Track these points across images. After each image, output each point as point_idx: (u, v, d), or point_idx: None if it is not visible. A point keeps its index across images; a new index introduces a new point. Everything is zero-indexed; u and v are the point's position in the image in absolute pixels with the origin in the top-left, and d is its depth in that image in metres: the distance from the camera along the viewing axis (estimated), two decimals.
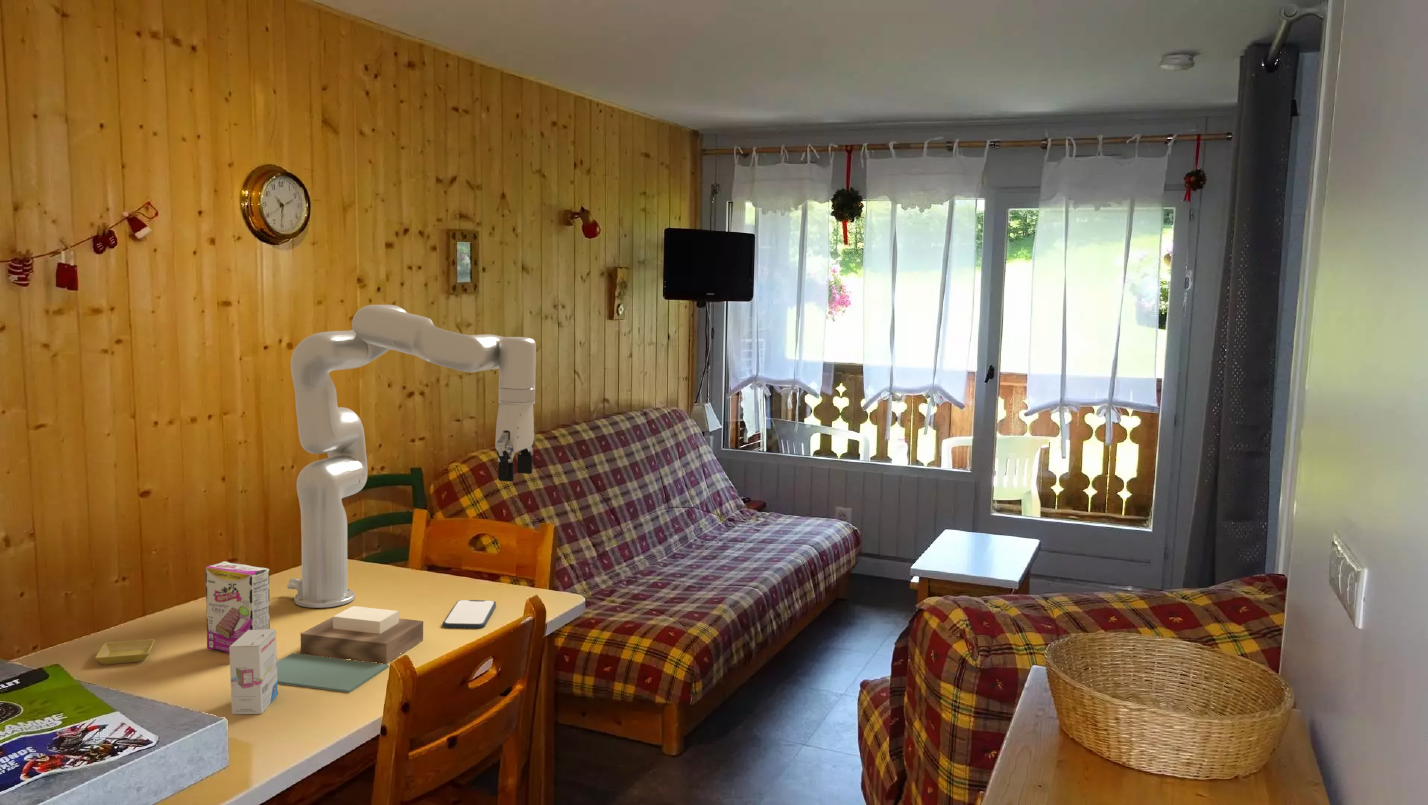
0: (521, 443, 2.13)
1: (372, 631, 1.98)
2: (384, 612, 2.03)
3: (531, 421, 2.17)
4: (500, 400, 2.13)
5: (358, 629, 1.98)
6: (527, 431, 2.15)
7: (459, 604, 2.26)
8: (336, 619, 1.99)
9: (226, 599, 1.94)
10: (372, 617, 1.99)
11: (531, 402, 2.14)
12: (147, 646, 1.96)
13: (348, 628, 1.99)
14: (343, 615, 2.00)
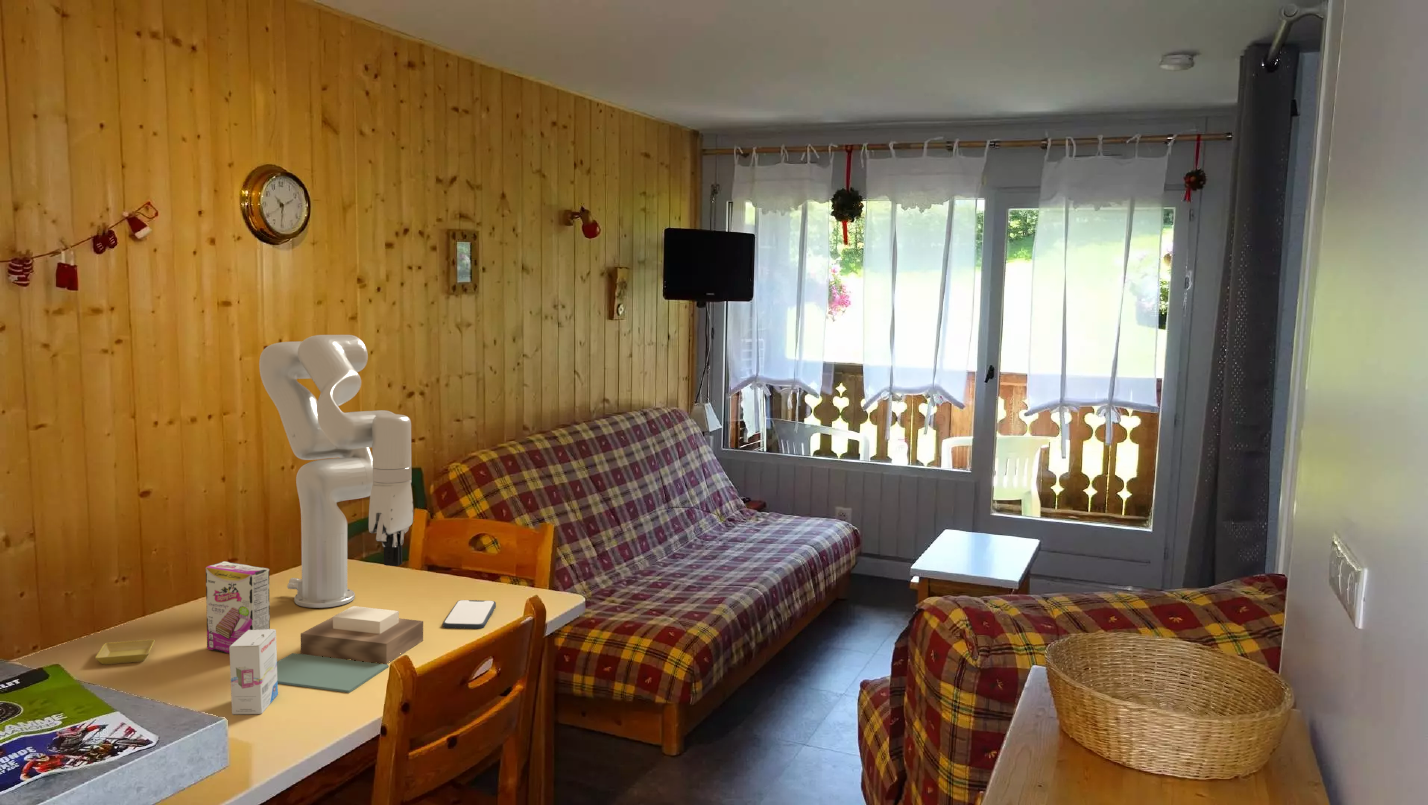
0: (396, 525, 2.06)
1: (372, 631, 1.98)
2: (384, 612, 2.03)
3: (408, 500, 2.10)
4: (373, 481, 2.06)
5: (358, 629, 1.98)
6: (403, 511, 2.08)
7: (459, 604, 2.26)
8: (336, 619, 1.99)
9: (226, 599, 1.94)
10: (372, 617, 1.99)
11: (406, 482, 2.06)
12: (147, 646, 1.96)
13: (348, 628, 1.99)
14: (343, 615, 2.00)
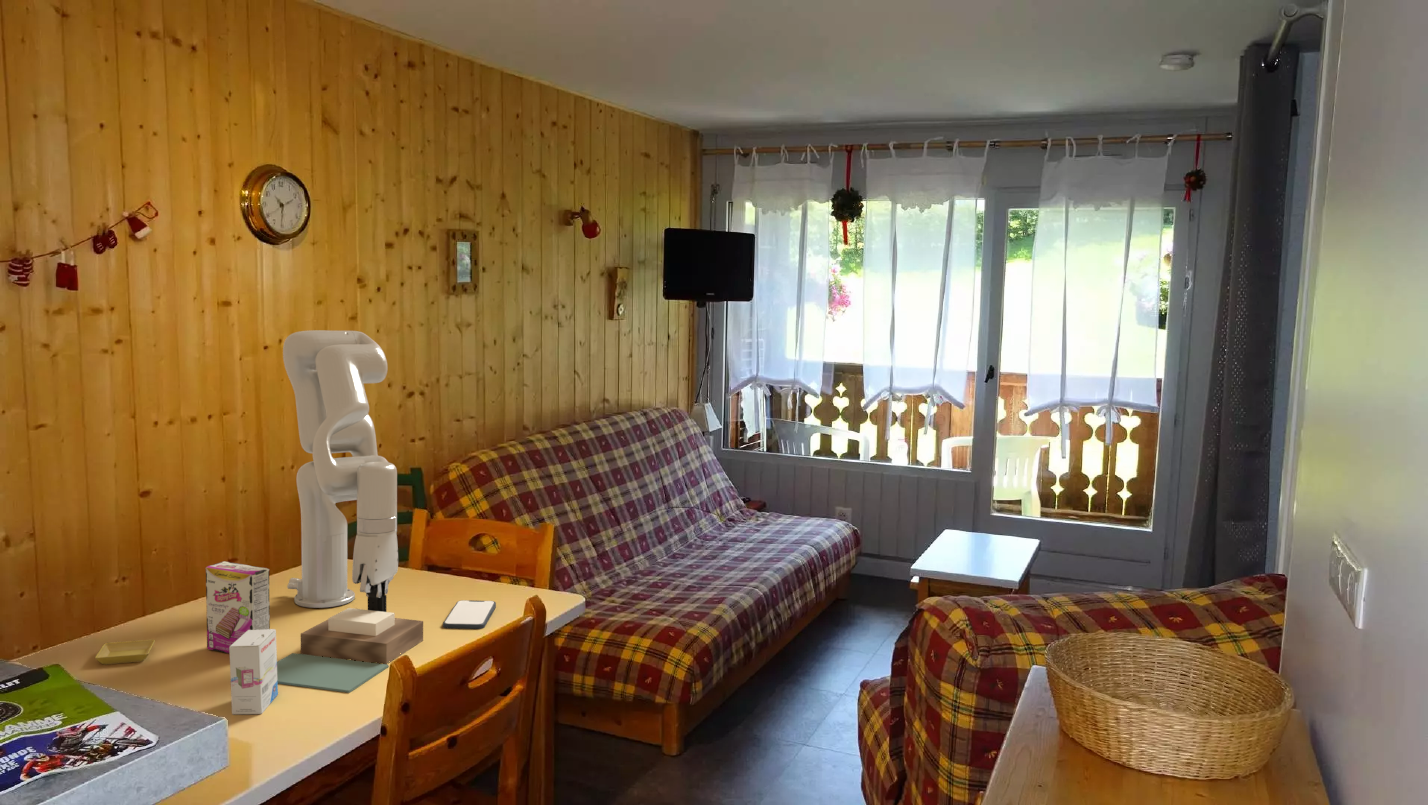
0: (381, 575, 2.02)
1: (368, 633, 1.96)
2: (380, 614, 2.02)
3: (393, 549, 2.06)
4: (358, 530, 2.01)
5: (354, 631, 1.97)
6: (388, 561, 2.04)
7: (459, 604, 2.26)
8: (331, 621, 1.98)
9: (226, 599, 1.94)
10: (368, 619, 1.98)
11: (391, 532, 2.02)
12: (147, 646, 1.96)
13: (344, 630, 1.97)
14: (338, 617, 1.99)
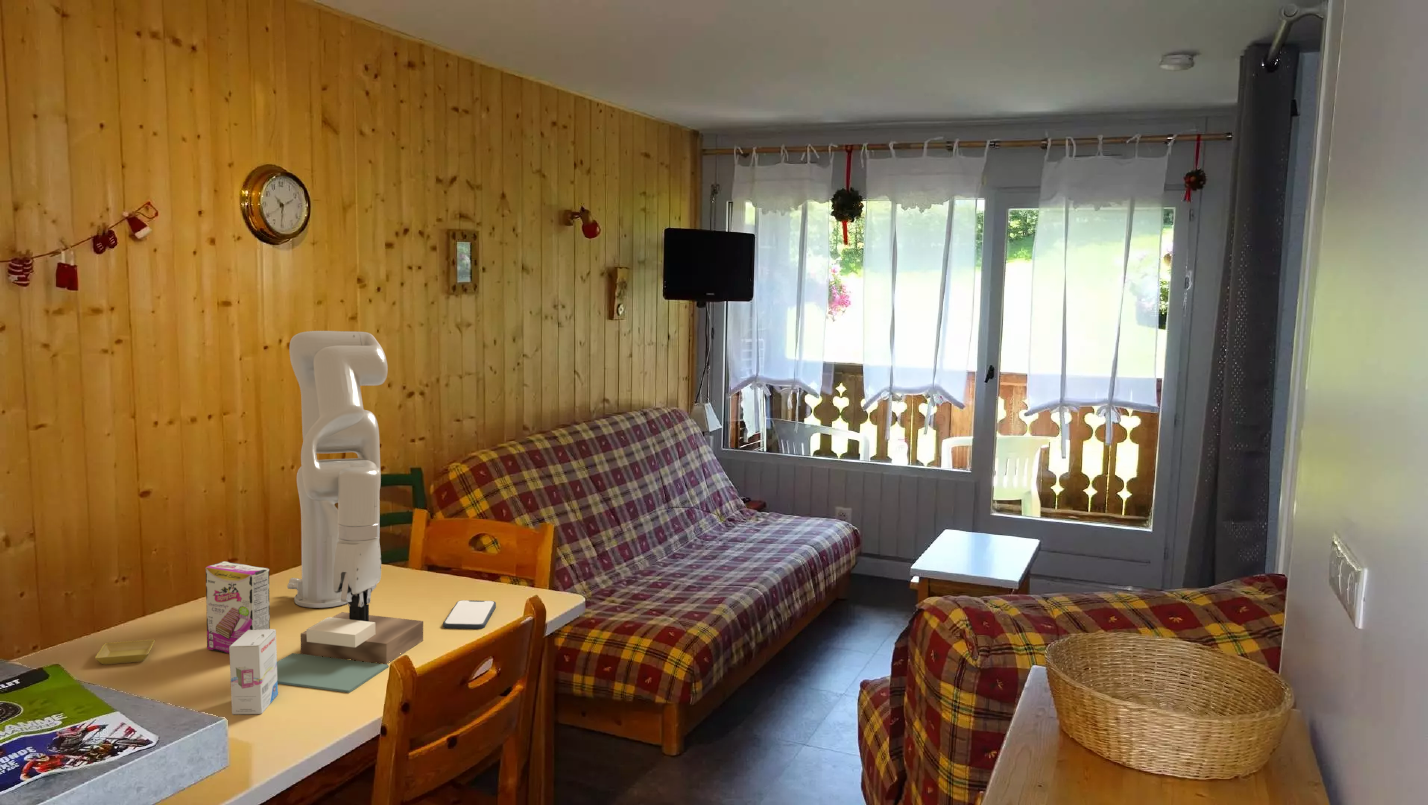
0: (363, 584, 1.96)
1: (347, 644, 1.90)
2: (360, 623, 1.95)
3: (376, 557, 2.00)
4: (339, 537, 1.95)
5: (333, 643, 1.91)
6: (370, 569, 1.98)
7: (459, 604, 2.26)
8: (310, 632, 1.92)
9: (226, 599, 1.94)
10: (347, 630, 1.92)
11: (373, 539, 1.96)
12: (147, 646, 1.96)
13: (322, 641, 1.91)
14: (317, 627, 1.92)
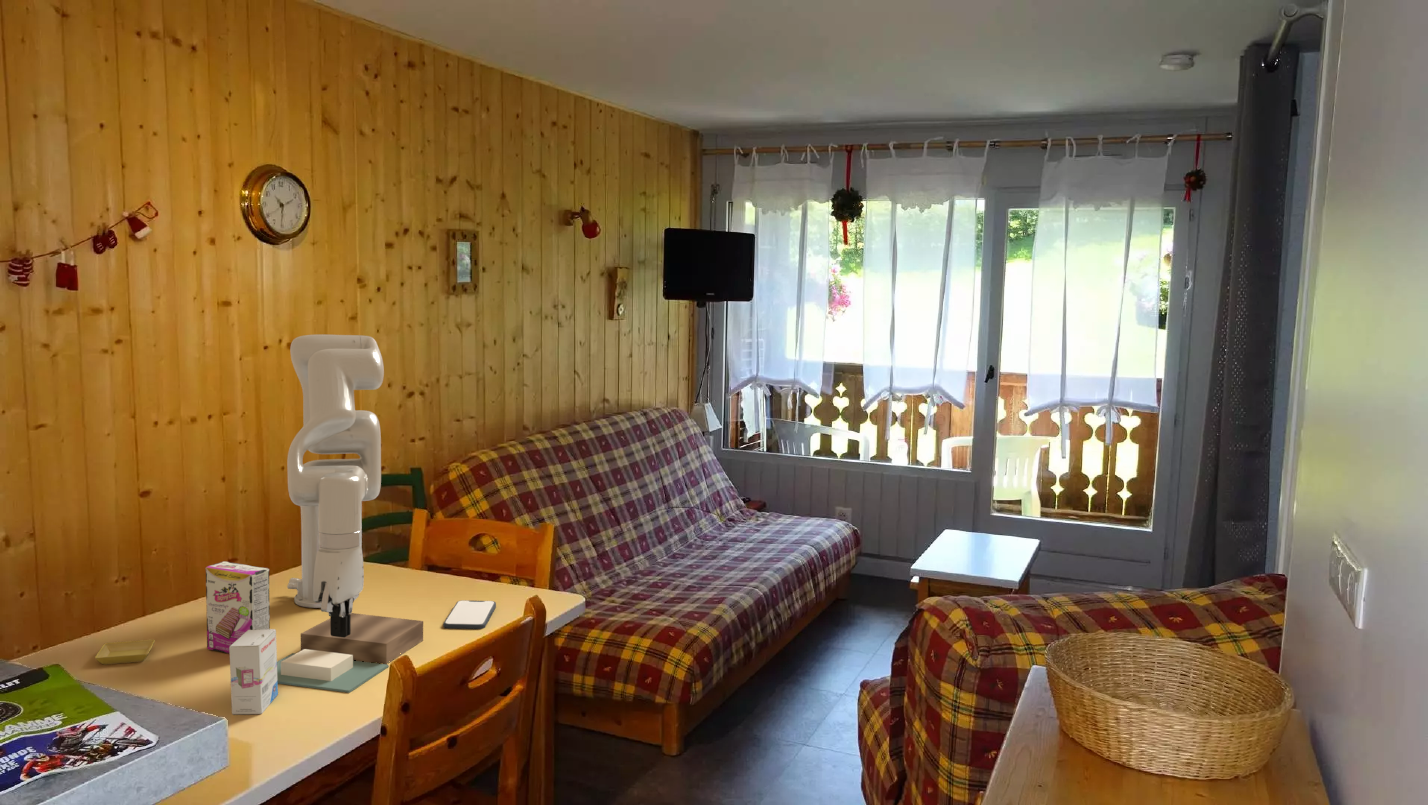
0: (344, 594, 1.90)
1: None
2: None
3: (358, 566, 1.93)
4: (319, 546, 1.89)
5: None
6: (352, 578, 1.92)
7: (459, 604, 2.26)
8: None
9: (226, 599, 1.94)
10: None
11: (355, 547, 1.90)
12: (147, 646, 1.96)
13: None
14: None
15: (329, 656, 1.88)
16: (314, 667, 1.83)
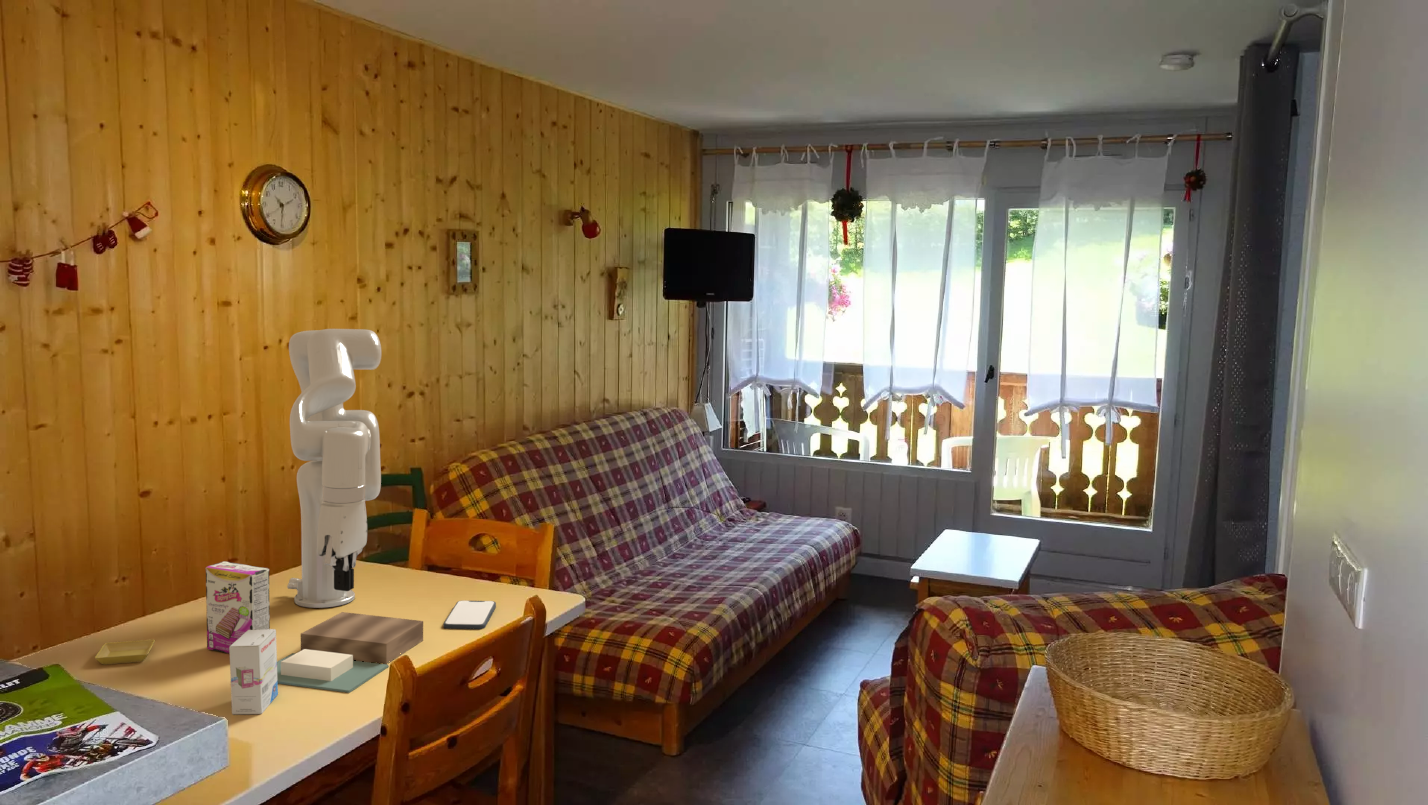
0: (347, 548, 1.90)
1: None
2: None
3: (362, 520, 1.94)
4: (323, 499, 1.89)
5: None
6: (356, 533, 1.92)
7: (459, 605, 2.26)
8: None
9: (226, 599, 1.94)
10: None
11: (358, 502, 1.90)
12: (147, 646, 1.96)
13: None
14: None
15: (329, 656, 1.88)
16: (314, 667, 1.83)
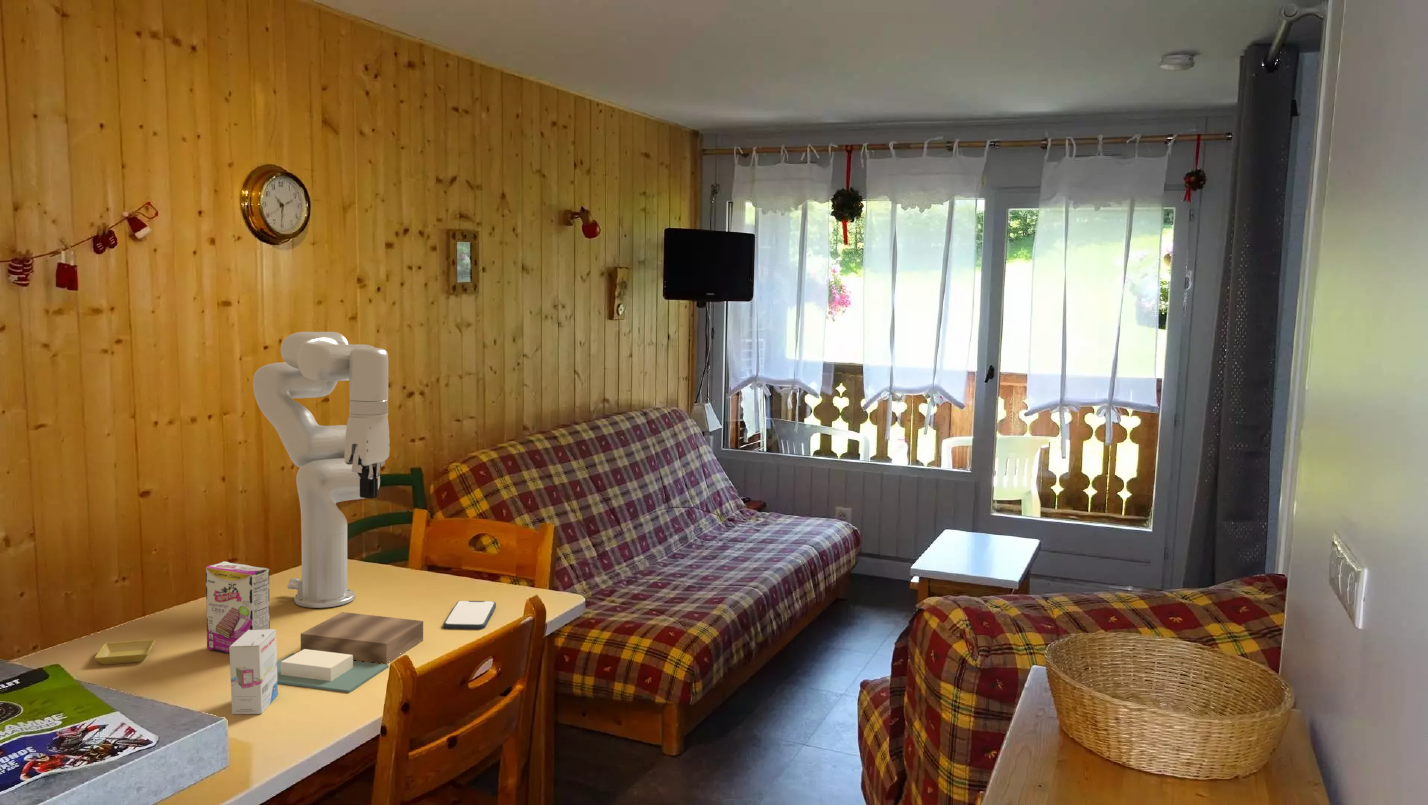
0: (372, 457, 2.08)
1: None
2: None
3: (385, 434, 2.12)
4: (350, 412, 2.07)
5: None
6: (379, 444, 2.10)
7: (459, 605, 2.26)
8: None
9: (226, 599, 1.94)
10: None
11: (382, 415, 2.08)
12: (147, 646, 1.96)
13: None
14: None
15: (329, 656, 1.88)
16: (314, 667, 1.83)
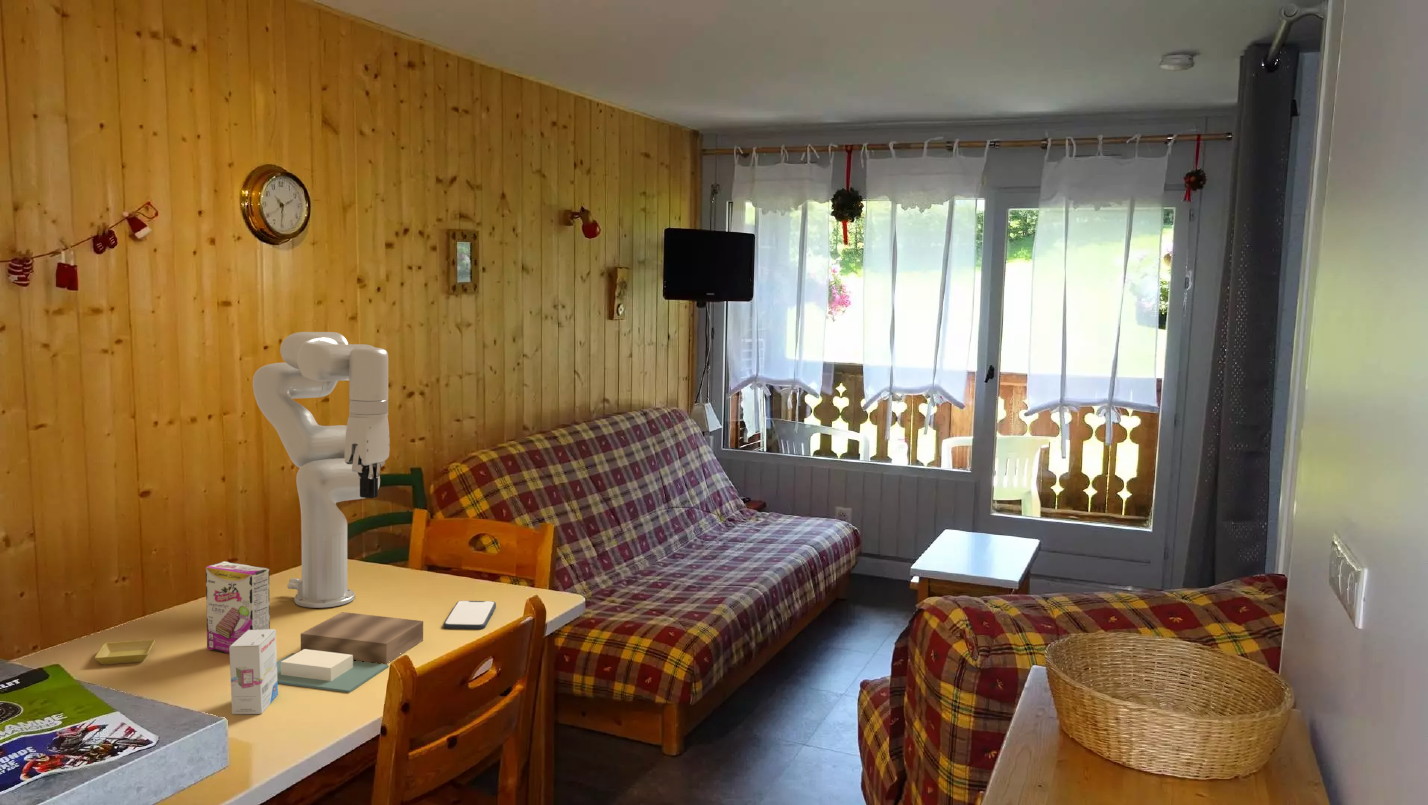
0: (372, 457, 2.08)
1: None
2: None
3: (385, 434, 2.12)
4: (350, 412, 2.07)
5: None
6: (380, 444, 2.10)
7: (459, 605, 2.26)
8: None
9: (226, 599, 1.94)
10: None
11: (382, 414, 2.08)
12: (147, 646, 1.96)
13: None
14: None
15: (329, 656, 1.88)
16: (314, 667, 1.83)
